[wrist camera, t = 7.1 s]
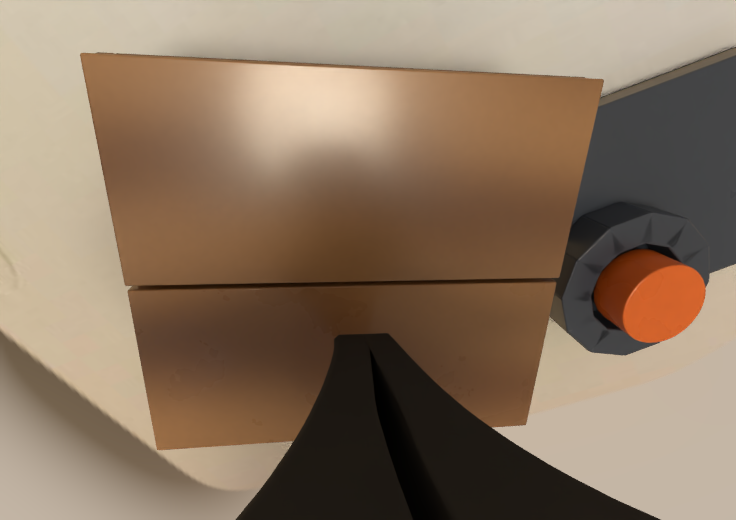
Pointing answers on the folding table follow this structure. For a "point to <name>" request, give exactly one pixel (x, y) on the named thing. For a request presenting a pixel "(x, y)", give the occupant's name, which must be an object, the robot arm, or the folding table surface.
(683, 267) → the button
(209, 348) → the flap
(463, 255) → the carton
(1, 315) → the folding table surface
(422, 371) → the robot arm
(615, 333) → the control box
